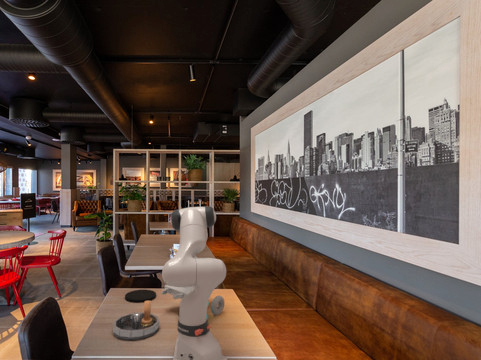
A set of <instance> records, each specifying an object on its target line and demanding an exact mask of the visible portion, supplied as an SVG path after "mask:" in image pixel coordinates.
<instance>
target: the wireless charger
mask: <svg viewBox="0 0 481 360" xmlns="http://www.w3.org/2000/svg"><path fill="white" fill-rule="evenodd" d="M156 298H157V292H156V291H155V290H152V289H151V290H150V289H136V290H131V291H129V292H127V293H125V295H124V301H126V302H128V303H133V304H141V303H142V304H143V303H144V302H145V301H151V302H152V301H154V300H155V299H156Z"/></svg>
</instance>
